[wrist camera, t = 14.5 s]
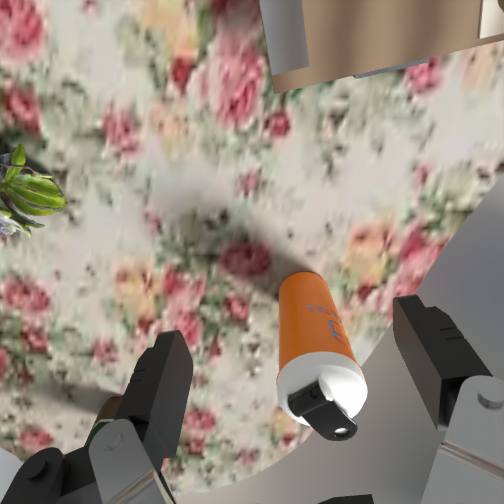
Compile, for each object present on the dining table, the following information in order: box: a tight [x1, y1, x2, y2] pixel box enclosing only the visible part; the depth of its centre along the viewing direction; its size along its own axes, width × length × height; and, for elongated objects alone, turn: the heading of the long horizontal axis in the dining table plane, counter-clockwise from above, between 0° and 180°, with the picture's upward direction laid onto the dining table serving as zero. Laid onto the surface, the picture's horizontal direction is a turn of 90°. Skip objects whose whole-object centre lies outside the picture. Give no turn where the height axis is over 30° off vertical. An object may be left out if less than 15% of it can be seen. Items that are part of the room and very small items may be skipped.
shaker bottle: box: [277, 272, 367, 441], centre depth 40 cm, size 9×9×20 cm
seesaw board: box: [259, 0, 504, 94], centre depth 26 cm, size 24×8×3 cm, turn 102°
